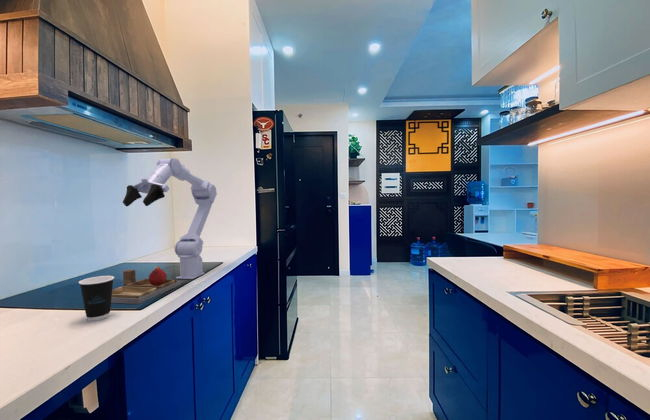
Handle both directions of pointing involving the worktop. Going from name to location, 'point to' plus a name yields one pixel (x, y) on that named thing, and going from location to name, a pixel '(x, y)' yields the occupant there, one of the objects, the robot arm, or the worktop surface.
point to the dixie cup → (97, 296)
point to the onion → (157, 277)
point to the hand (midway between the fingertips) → (134, 204)
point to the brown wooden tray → (144, 298)
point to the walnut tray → (141, 281)
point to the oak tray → (132, 292)
